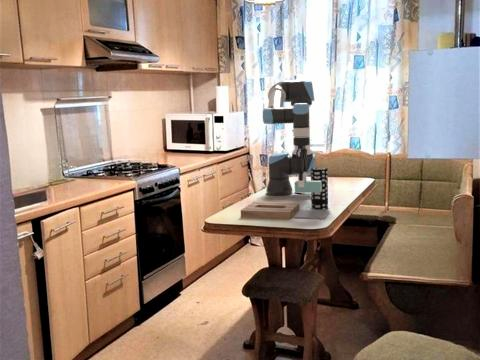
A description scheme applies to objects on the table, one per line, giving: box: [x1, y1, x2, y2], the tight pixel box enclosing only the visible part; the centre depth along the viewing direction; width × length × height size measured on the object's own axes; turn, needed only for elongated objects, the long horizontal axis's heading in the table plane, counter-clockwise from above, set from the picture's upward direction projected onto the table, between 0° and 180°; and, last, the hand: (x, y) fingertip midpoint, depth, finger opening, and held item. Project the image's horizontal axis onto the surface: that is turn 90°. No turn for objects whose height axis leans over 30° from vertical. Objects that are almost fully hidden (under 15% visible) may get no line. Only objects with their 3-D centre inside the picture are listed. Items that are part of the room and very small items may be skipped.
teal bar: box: [294, 180, 322, 194], centre depth 242 cm, size 4×12×5 cm, turn 71°
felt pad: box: [294, 209, 331, 220], centre depth 244 cm, size 14×14×1 cm
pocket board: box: [240, 201, 301, 220], centre depth 250 cm, size 20×24×4 cm
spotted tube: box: [310, 166, 329, 211], centre depth 257 cm, size 8×8×20 cm
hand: (302, 186), depth 243 cm, fingers closed on teal bar, 4 cm apart
